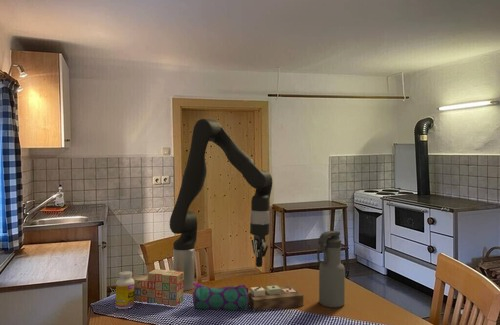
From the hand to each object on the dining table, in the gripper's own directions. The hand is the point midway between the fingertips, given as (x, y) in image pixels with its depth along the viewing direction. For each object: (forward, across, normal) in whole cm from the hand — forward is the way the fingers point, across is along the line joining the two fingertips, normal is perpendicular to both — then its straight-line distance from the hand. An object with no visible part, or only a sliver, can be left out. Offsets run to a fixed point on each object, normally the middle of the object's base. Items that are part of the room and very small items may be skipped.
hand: (258, 266), depth 147 cm
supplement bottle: (+15, -11, -49) cm, 53 cm away
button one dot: (+11, +1, +6) cm, 13 cm away
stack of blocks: (+15, -13, -38) cm, 43 cm away
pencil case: (+15, +1, -15) cm, 21 cm away
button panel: (+14, +1, +6) cm, 16 cm away
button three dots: (+11, +1, 0) cm, 11 cm away
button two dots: (+12, +1, +13) cm, 18 cm away
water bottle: (+14, +8, +27) cm, 32 cm away
